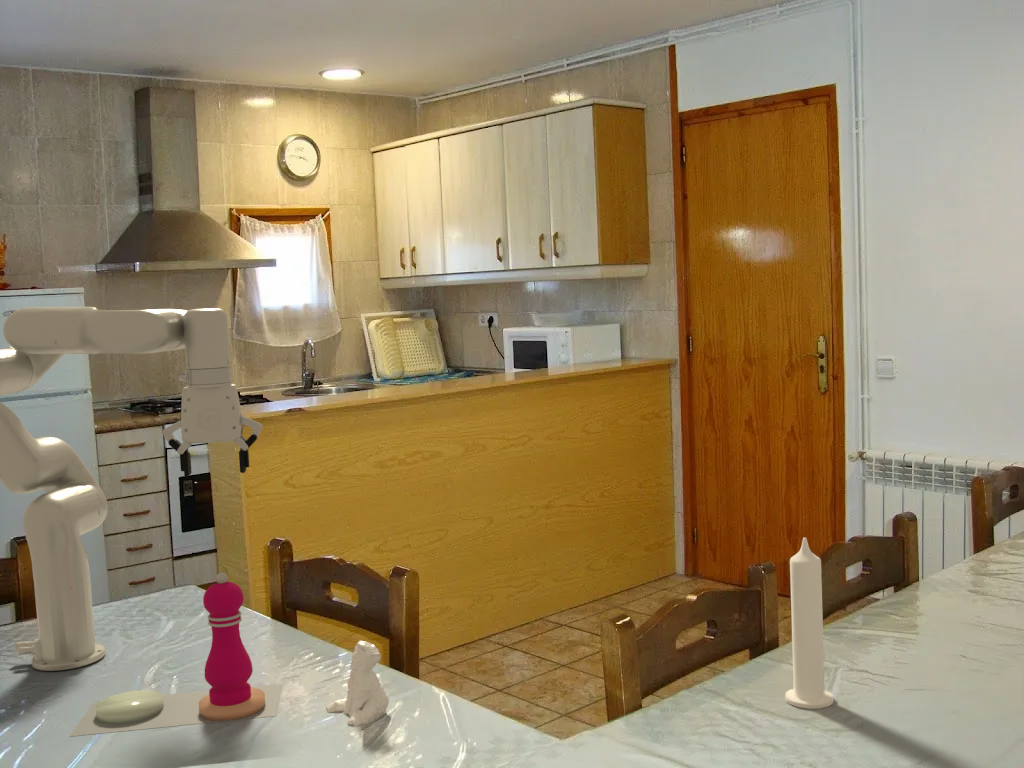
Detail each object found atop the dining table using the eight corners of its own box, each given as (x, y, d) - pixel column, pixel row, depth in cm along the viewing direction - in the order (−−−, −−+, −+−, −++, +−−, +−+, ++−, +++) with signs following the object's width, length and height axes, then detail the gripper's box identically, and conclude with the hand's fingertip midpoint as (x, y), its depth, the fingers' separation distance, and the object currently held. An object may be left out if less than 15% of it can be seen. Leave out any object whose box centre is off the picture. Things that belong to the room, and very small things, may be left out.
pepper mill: (241, 708, 161) (231, 579, 159) (197, 706, 162) (188, 578, 161) (262, 690, 168) (253, 566, 166) (220, 689, 169) (211, 566, 168)
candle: (834, 693, 162) (830, 532, 160) (832, 711, 155) (828, 543, 153) (787, 690, 164) (782, 531, 162) (783, 707, 158) (778, 542, 156)
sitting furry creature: (322, 717, 163) (317, 641, 162) (371, 702, 168) (366, 628, 167) (352, 735, 155) (347, 655, 154) (402, 719, 161) (398, 641, 160)
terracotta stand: (194, 724, 159) (193, 714, 159) (204, 699, 169) (203, 690, 169) (262, 717, 161) (261, 707, 160) (268, 693, 170) (267, 684, 170)
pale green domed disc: (88, 727, 160) (88, 717, 160) (104, 702, 170) (104, 693, 170) (157, 720, 161) (156, 710, 161) (169, 696, 171) (168, 687, 171)
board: (70, 744, 157) (69, 736, 157) (94, 708, 171) (93, 701, 171) (276, 723, 161) (275, 715, 161) (283, 690, 175) (282, 683, 175)
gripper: (154, 382, 183) (161, 480, 184) (256, 377, 185) (262, 473, 186) (163, 379, 190) (169, 473, 192) (261, 374, 192) (267, 467, 194)
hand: (215, 473), depth 189 cm, fingers open, 9 cm apart
